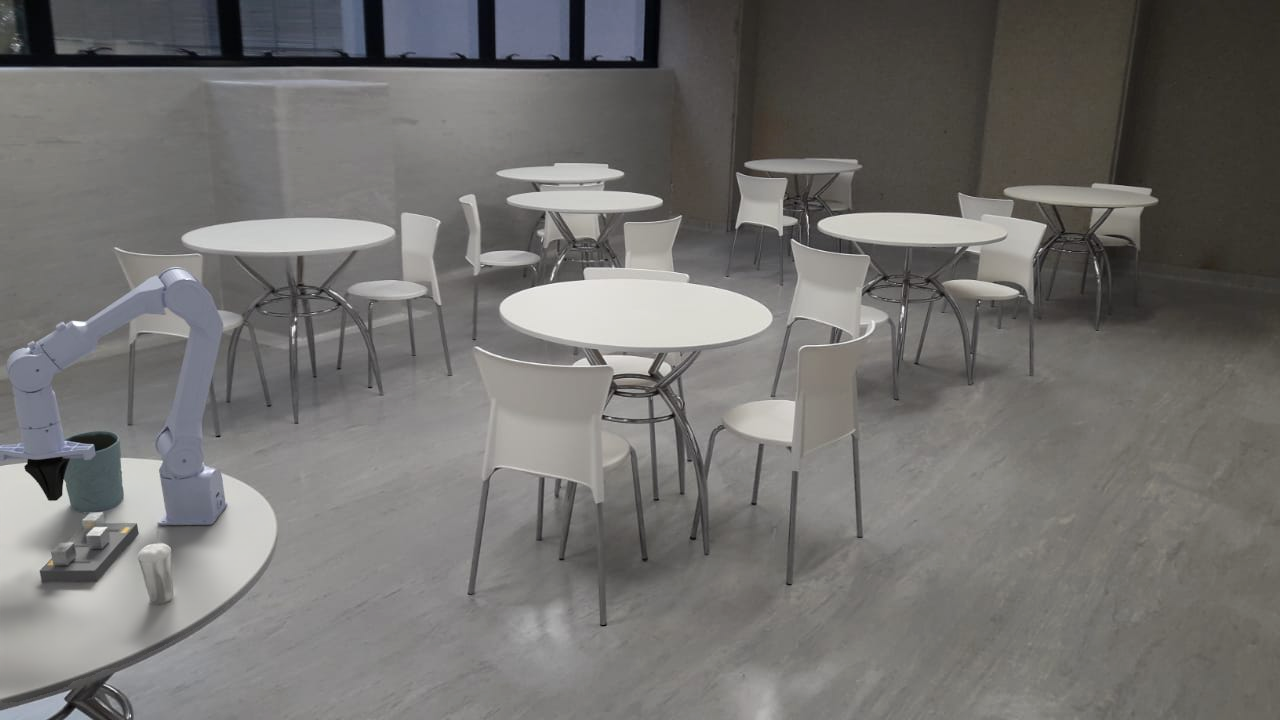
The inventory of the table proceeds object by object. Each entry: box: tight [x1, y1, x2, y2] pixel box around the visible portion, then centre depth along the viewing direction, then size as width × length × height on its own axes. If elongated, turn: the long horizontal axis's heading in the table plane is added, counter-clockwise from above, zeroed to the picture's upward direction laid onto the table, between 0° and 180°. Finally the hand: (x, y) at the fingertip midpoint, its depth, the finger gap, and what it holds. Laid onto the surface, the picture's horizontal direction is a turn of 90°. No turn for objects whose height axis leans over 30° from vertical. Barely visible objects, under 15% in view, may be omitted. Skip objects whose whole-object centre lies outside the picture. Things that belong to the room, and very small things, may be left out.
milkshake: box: [137, 530, 175, 605], centre depth 151 cm, size 4×5×10 cm
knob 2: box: [81, 511, 107, 533], centre depth 167 cm, size 2×3×2 cm
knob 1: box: [50, 542, 77, 565], centre depth 157 cm, size 2×3×2 cm
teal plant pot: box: [63, 430, 125, 514], centre depth 179 cm, size 10×10×12 cm
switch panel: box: [39, 522, 139, 583], centre depth 163 cm, size 8×15×2 cm, turn 2°
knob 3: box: [86, 527, 110, 549], centre depth 162 cm, size 2×3×2 cm
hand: (55, 497), depth 164 cm, fingers closed
